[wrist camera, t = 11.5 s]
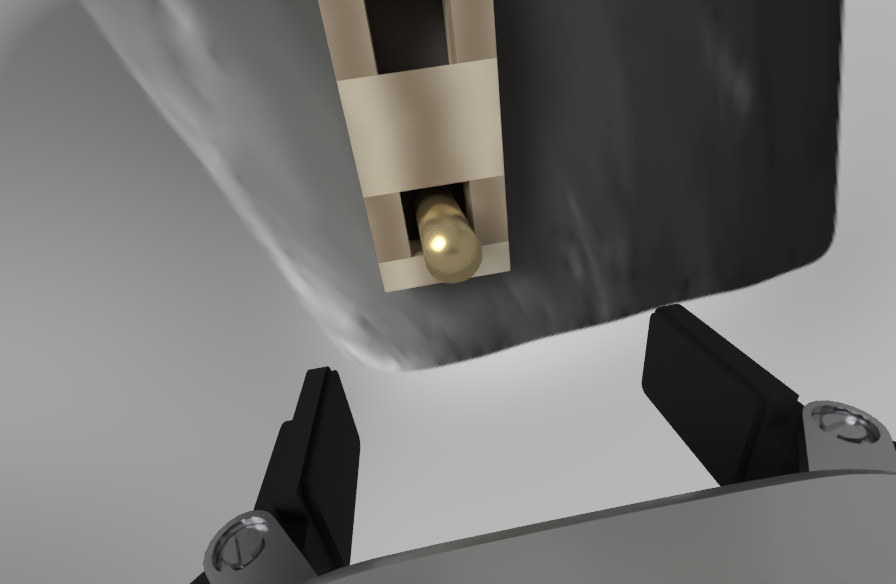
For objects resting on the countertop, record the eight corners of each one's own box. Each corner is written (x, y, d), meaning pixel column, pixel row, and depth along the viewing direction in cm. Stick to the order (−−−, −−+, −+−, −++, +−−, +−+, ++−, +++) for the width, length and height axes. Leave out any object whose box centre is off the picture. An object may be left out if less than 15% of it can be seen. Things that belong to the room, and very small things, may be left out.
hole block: (473, -77, 22) (486, -103, 19) (498, 253, 32) (510, 270, 29) (312, -56, 22) (299, -80, 19) (385, 272, 31) (385, 292, 28)
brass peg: (452, 182, 29) (479, 224, 20) (457, 222, 30) (484, 278, 21) (411, 189, 29) (420, 234, 20) (418, 228, 30) (429, 287, 21)
